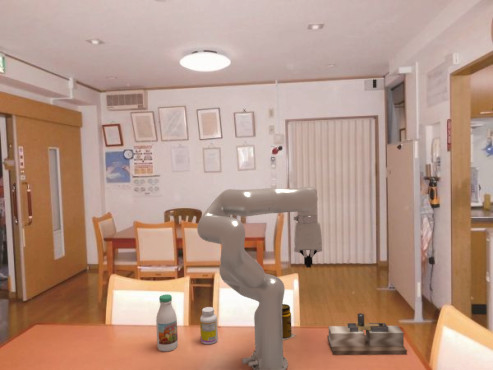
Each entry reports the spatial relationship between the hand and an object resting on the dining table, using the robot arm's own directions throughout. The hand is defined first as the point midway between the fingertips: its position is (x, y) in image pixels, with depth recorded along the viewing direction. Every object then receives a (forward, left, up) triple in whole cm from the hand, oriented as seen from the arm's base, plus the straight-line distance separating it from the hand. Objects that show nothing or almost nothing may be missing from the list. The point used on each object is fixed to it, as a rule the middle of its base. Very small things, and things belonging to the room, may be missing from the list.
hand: (308, 266), depth 145 cm
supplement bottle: (-36, +16, -29) cm, 49 cm away
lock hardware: (+17, -13, -23) cm, 31 cm away
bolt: (+17, -13, -22) cm, 31 cm away
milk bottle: (-52, +18, -29) cm, 62 cm away
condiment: (-8, +8, -29) cm, 32 cm away
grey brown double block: (+16, -13, -29) cm, 36 cm away
